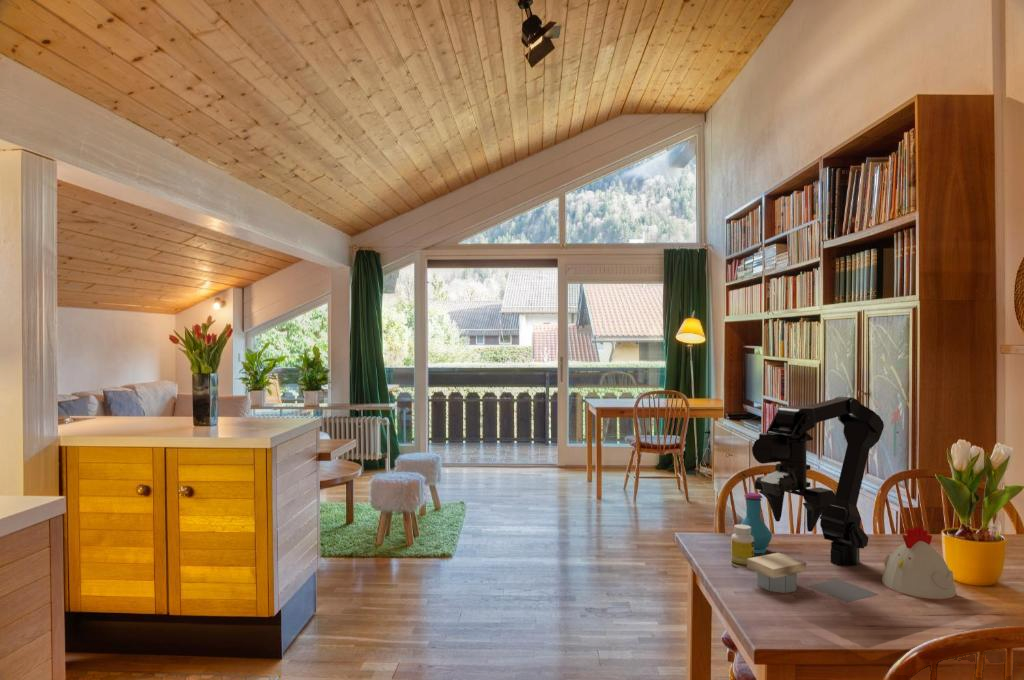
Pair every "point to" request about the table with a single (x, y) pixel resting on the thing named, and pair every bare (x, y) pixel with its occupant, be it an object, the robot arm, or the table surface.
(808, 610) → the table surface
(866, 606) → the table surface
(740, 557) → the supplement bottle
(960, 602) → the table surface
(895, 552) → the white ceramic hen
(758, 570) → the cover board
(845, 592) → the mat
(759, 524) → the teal vase
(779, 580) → the bowl
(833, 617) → the table surface
